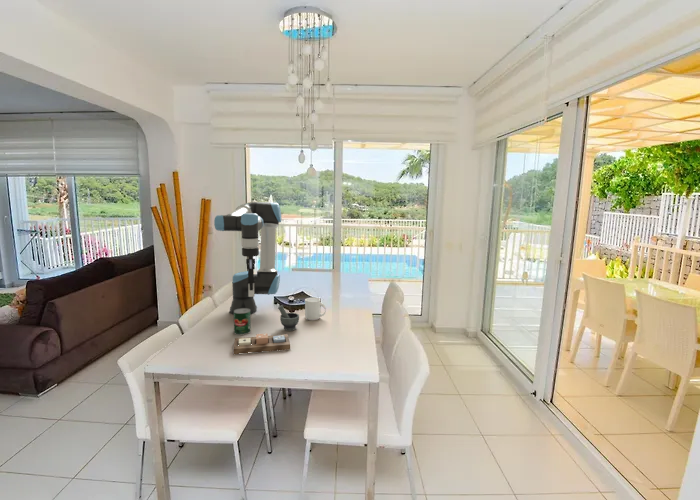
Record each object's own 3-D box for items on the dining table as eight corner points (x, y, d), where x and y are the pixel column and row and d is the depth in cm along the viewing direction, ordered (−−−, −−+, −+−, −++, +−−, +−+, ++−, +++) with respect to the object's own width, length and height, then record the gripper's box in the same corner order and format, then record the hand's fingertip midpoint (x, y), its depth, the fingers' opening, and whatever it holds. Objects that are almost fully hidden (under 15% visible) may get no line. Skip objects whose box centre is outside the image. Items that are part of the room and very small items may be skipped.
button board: (233, 354, 149) (233, 349, 149) (234, 343, 161) (234, 338, 161) (290, 349, 156) (290, 344, 156) (287, 339, 167) (287, 334, 167)
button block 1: (238, 349, 153) (238, 342, 153) (239, 345, 158) (239, 338, 158) (250, 348, 155) (250, 341, 154) (250, 344, 159) (250, 337, 159)
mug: (322, 322, 192) (323, 303, 190) (302, 319, 195) (302, 300, 194) (328, 317, 200) (328, 298, 198) (308, 314, 203) (308, 296, 202)
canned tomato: (235, 335, 170) (235, 313, 168) (232, 330, 177) (232, 309, 175) (252, 333, 173) (251, 311, 172) (248, 328, 180) (248, 307, 179)
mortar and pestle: (301, 326, 185) (301, 304, 183) (295, 332, 176) (296, 309, 174) (281, 324, 187) (281, 302, 185) (274, 330, 178) (274, 307, 176)
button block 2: (256, 344, 155) (256, 338, 155) (256, 340, 160) (256, 333, 159) (268, 344, 156) (268, 337, 156) (267, 339, 161) (267, 333, 161)
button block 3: (273, 346, 157) (273, 339, 157) (273, 342, 162) (273, 335, 162) (285, 345, 159) (285, 338, 158) (284, 341, 163) (284, 334, 163)
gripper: (259, 249, 156) (259, 300, 161) (258, 244, 169) (259, 291, 173) (241, 249, 154) (242, 301, 159) (242, 244, 167) (243, 292, 171)
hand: (251, 296), depth 166 cm, fingers closed
